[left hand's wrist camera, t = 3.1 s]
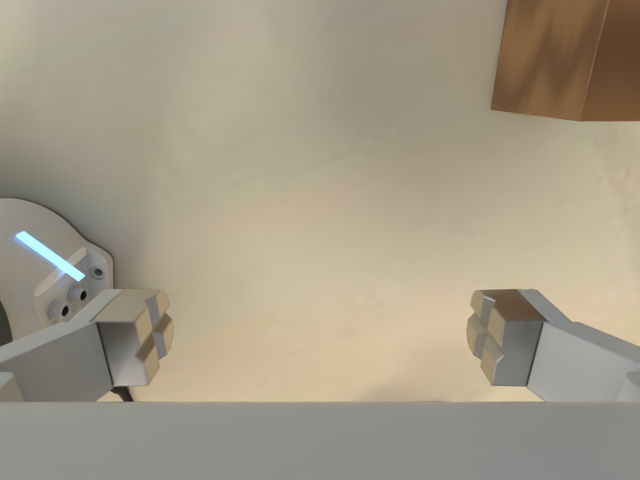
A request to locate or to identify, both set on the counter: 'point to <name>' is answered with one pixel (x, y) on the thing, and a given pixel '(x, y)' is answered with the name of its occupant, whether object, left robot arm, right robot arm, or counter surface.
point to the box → (570, 60)
